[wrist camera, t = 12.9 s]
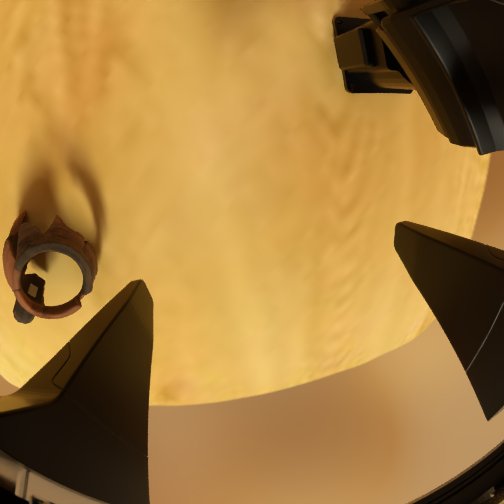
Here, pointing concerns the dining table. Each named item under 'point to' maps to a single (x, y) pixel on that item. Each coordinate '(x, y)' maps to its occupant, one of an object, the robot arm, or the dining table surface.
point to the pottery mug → (31, 285)
